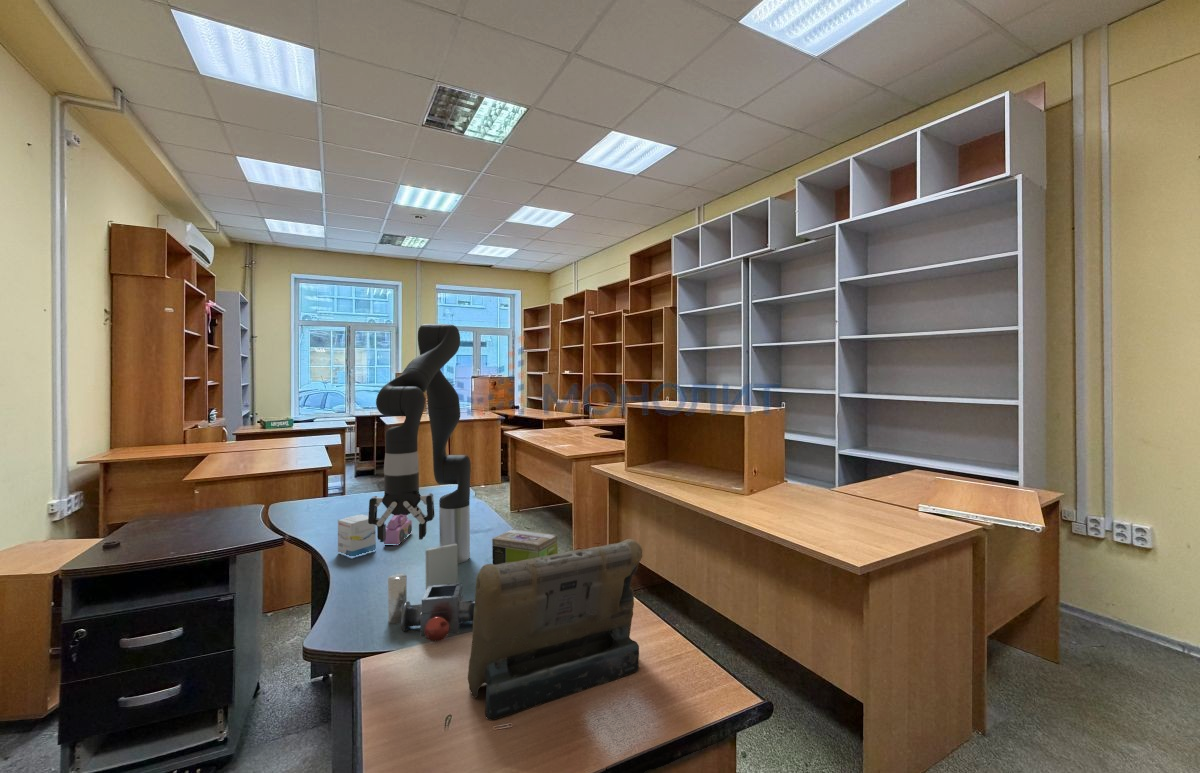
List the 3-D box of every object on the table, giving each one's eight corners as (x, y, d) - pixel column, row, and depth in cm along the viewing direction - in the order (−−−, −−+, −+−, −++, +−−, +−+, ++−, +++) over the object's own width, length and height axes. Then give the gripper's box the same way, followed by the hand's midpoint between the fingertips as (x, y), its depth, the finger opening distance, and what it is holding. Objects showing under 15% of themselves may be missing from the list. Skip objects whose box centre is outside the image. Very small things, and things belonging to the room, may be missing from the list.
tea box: (559, 588, 129) (558, 533, 129) (539, 603, 120) (539, 545, 120) (513, 578, 135) (513, 527, 135) (491, 593, 126) (490, 537, 126)
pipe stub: (390, 616, 113) (390, 574, 113) (408, 615, 114) (408, 573, 114) (386, 624, 109) (386, 581, 109) (404, 623, 110) (404, 580, 110)
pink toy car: (399, 547, 163) (399, 518, 163) (380, 547, 162) (380, 518, 162) (416, 531, 181) (416, 505, 181) (399, 531, 180) (399, 505, 180)
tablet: (611, 637, 104) (610, 523, 104) (651, 668, 92) (650, 540, 92) (462, 689, 86) (461, 552, 86) (488, 736, 74) (487, 577, 74)
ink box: (376, 551, 158) (376, 517, 158) (351, 559, 151) (351, 523, 151) (361, 547, 163) (361, 513, 163) (337, 554, 156) (336, 519, 156)
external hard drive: (458, 590, 127) (457, 544, 127) (426, 598, 123) (426, 550, 123) (456, 588, 129) (456, 543, 129) (425, 596, 124) (424, 548, 124)
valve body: (408, 620, 111) (408, 586, 111) (481, 614, 114) (481, 581, 114) (395, 647, 100) (395, 609, 100) (477, 640, 102) (476, 603, 102)
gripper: (435, 467, 116) (436, 533, 116) (374, 469, 114) (374, 536, 114) (430, 472, 109) (431, 543, 109) (364, 475, 106) (364, 547, 106)
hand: (402, 539), depth 111 cm, fingers open, 8 cm apart
